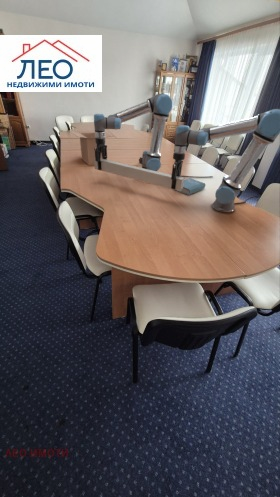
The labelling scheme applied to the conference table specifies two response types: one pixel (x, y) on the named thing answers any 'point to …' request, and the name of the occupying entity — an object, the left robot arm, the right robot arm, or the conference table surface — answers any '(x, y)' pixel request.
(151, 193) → the conference table surface
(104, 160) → the beam
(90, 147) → the box
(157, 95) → the left robot arm
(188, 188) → the book
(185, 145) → the right robot arm
